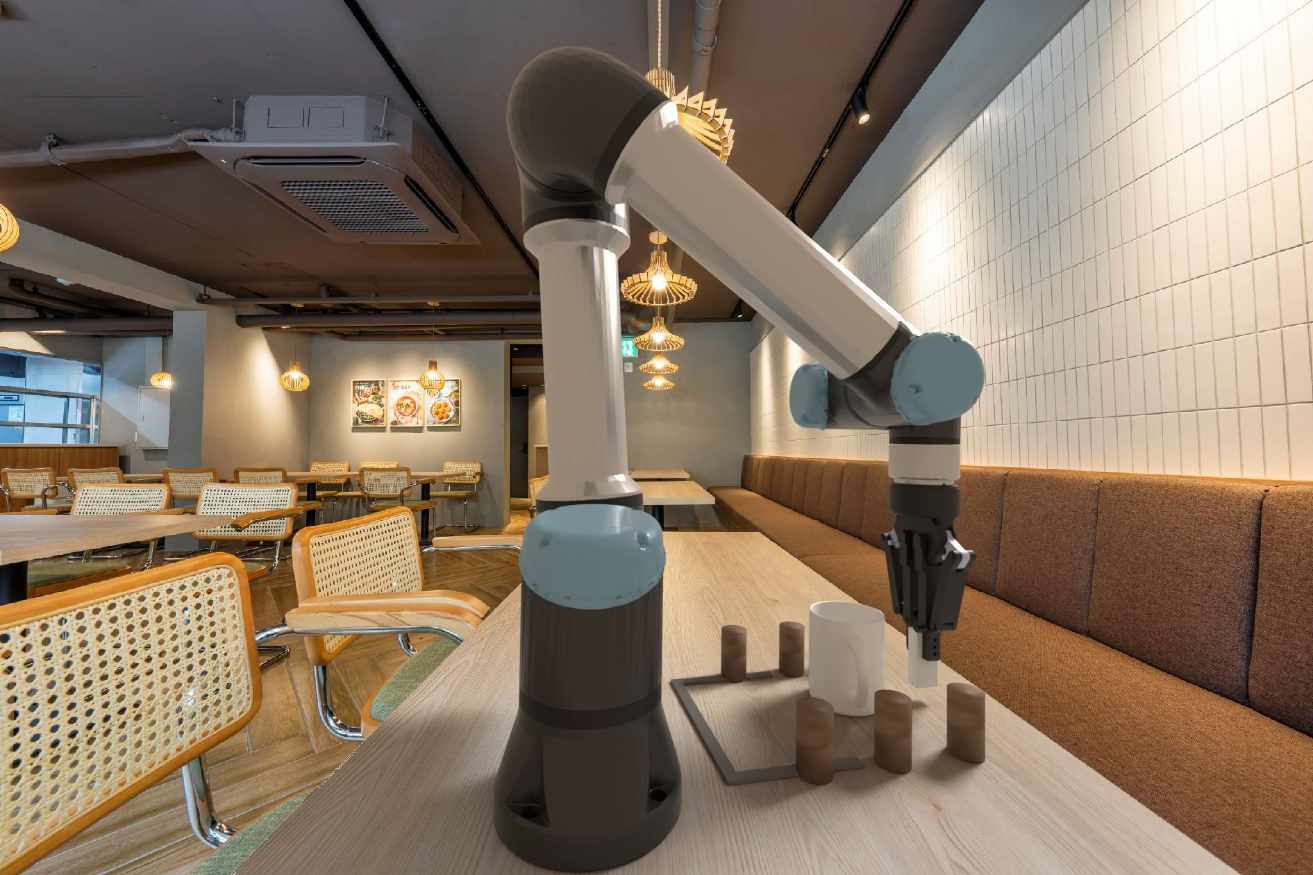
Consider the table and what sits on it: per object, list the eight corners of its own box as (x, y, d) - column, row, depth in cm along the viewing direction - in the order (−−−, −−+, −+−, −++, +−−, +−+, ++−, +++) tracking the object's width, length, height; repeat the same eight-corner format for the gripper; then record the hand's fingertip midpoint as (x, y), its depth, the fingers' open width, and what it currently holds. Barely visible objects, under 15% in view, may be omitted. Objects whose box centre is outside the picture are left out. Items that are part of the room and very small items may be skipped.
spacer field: (806, 786, 45) (807, 716, 45) (717, 672, 67) (717, 625, 68) (993, 760, 49) (993, 696, 49) (850, 661, 72) (850, 617, 72)
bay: (728, 785, 45) (728, 781, 45) (670, 681, 65) (670, 679, 65) (864, 767, 48) (864, 763, 48) (769, 673, 67) (769, 670, 67)
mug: (907, 740, 52) (907, 637, 52) (822, 734, 53) (822, 632, 53) (872, 686, 64) (872, 602, 64) (803, 682, 65) (804, 599, 65)
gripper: (997, 485, 56) (997, 708, 55) (912, 478, 68) (911, 659, 68) (937, 485, 54) (936, 715, 54) (861, 478, 67) (860, 664, 66)
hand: (922, 684), depth 61 cm, fingers closed
